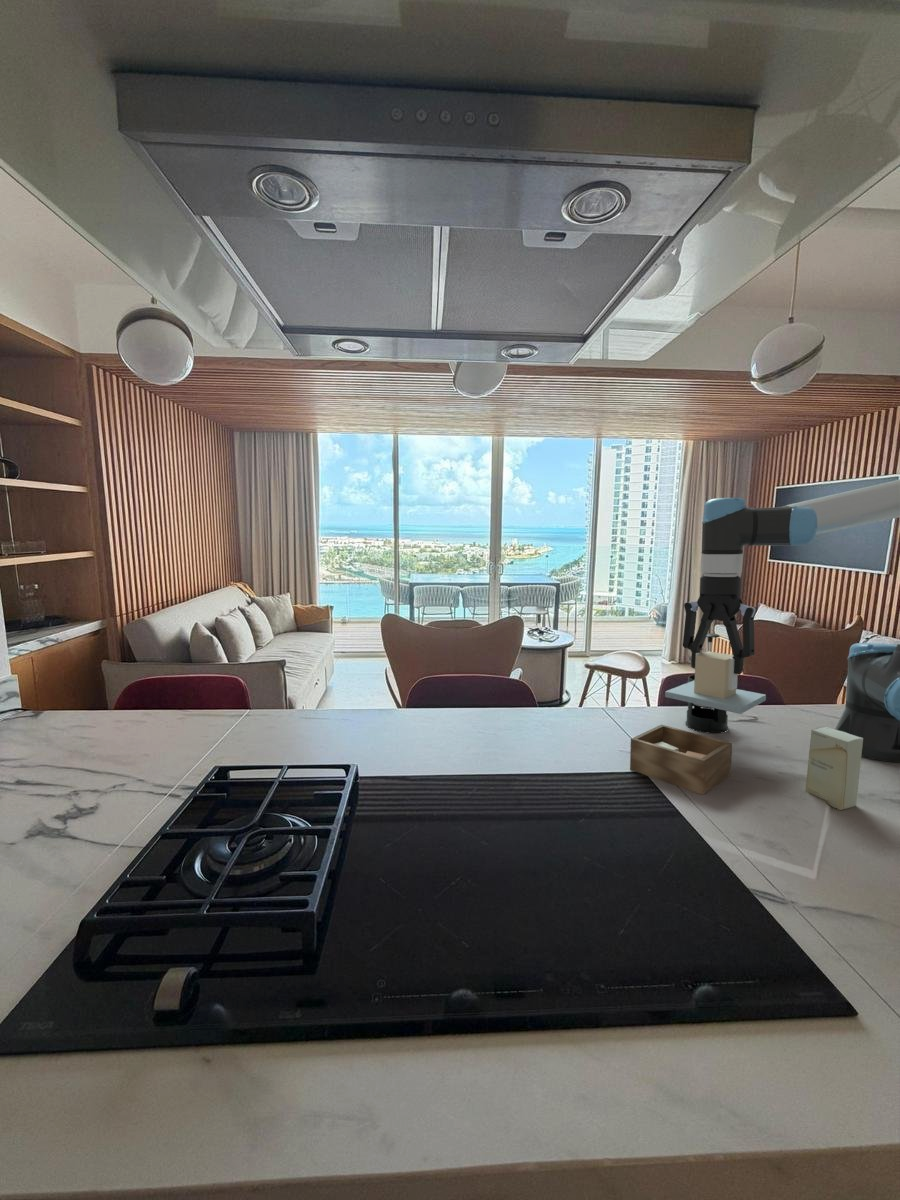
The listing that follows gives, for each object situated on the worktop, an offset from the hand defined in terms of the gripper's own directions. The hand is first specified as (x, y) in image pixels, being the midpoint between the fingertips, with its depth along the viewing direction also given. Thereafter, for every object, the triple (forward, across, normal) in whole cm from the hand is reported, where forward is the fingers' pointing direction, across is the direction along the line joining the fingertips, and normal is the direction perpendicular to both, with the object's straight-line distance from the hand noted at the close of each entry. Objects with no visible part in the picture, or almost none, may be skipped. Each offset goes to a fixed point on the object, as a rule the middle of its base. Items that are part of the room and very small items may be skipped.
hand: (715, 685), depth 109 cm
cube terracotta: (+14, -3, +15) cm, 21 cm away
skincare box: (+15, -22, +5) cm, 27 cm away
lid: (+3, 0, 0) cm, 3 cm away
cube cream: (+14, +3, +15) cm, 21 cm away
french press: (+15, +8, -16) cm, 24 cm away
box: (+15, 0, +15) cm, 21 cm away
